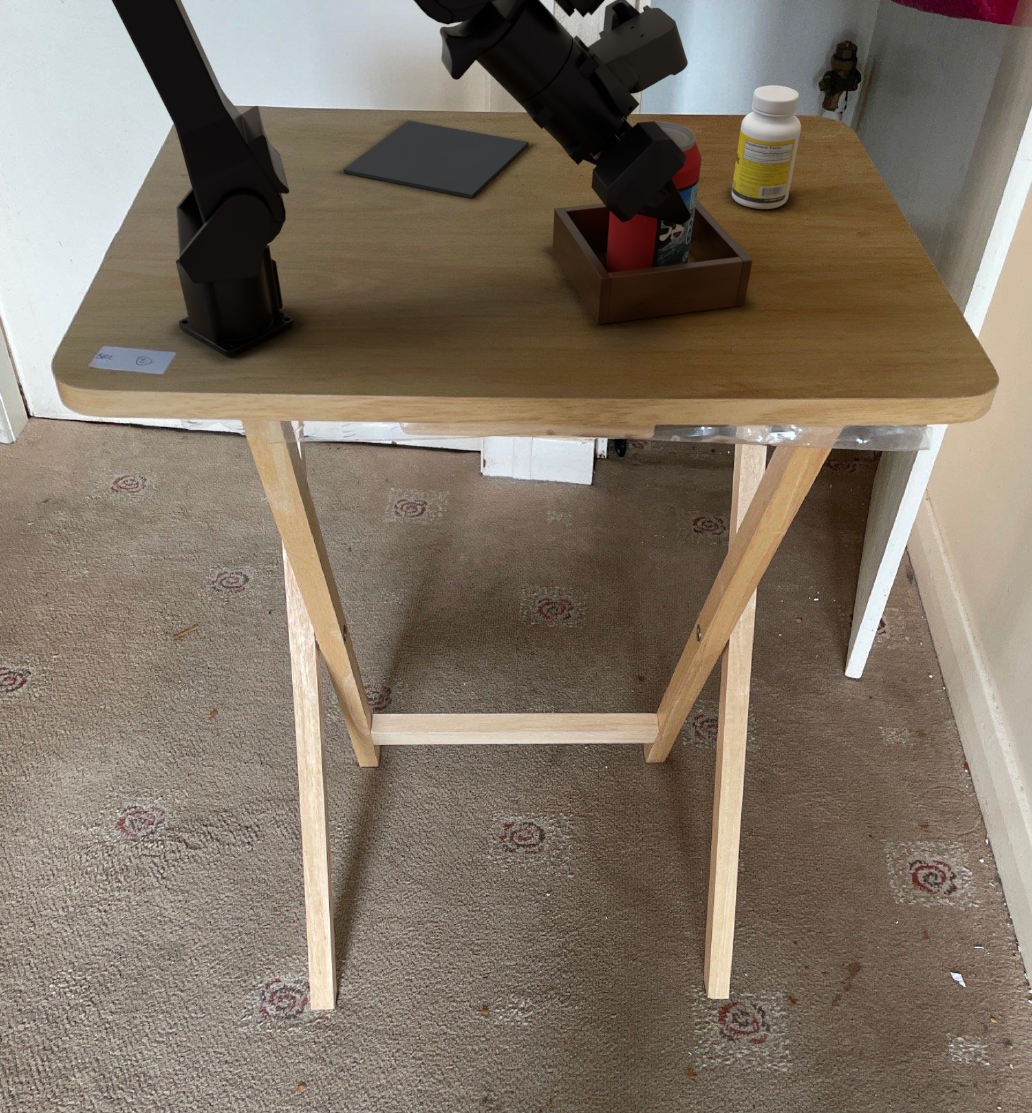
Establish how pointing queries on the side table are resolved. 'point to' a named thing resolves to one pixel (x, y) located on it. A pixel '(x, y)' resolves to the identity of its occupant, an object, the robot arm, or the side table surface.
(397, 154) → the mat
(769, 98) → the supplement bottle
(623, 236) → the beverage can
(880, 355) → the side table surface
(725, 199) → the side table surface
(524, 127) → the side table surface
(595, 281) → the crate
